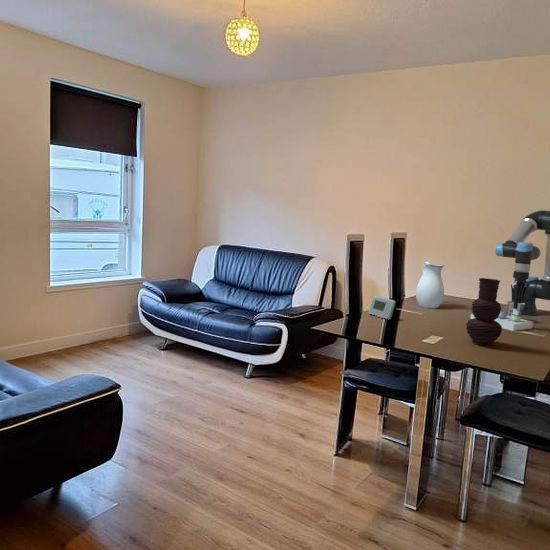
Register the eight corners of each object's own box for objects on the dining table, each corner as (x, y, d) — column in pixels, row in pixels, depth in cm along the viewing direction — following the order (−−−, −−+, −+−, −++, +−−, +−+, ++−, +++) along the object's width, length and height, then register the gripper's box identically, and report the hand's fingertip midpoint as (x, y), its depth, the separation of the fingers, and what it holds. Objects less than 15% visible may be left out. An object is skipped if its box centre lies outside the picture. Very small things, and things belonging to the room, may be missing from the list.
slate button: (499, 318, 276) (500, 311, 275) (507, 320, 272) (508, 313, 271) (494, 319, 273) (495, 312, 272) (502, 321, 269) (503, 314, 268)
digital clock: (366, 314, 277) (368, 295, 276) (379, 313, 280) (381, 295, 279) (383, 320, 262) (384, 301, 261) (397, 320, 266) (398, 301, 264)
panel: (489, 317, 288) (490, 311, 288) (532, 328, 267) (533, 321, 266) (470, 319, 279) (470, 313, 278) (513, 330, 257) (514, 324, 256)
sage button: (513, 322, 269) (514, 314, 268) (521, 324, 265) (522, 316, 264) (507, 322, 266) (508, 315, 266) (516, 324, 262) (517, 317, 262)
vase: (482, 349, 217) (490, 282, 212) (456, 339, 230) (464, 276, 226) (507, 347, 223) (516, 282, 219) (481, 338, 237) (488, 276, 233)
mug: (520, 323, 277) (523, 305, 276) (503, 320, 283) (505, 302, 281) (525, 320, 287) (527, 302, 285) (508, 317, 292) (510, 300, 291)
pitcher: (446, 310, 303) (451, 265, 299) (418, 308, 303) (423, 263, 299) (434, 302, 326) (438, 261, 323) (408, 301, 326) (413, 259, 323)
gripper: (521, 270, 268) (516, 312, 272) (507, 270, 261) (502, 313, 265) (535, 272, 262) (529, 315, 265) (521, 272, 255) (515, 316, 258)
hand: (515, 314), depth 265 cm, fingers closed
